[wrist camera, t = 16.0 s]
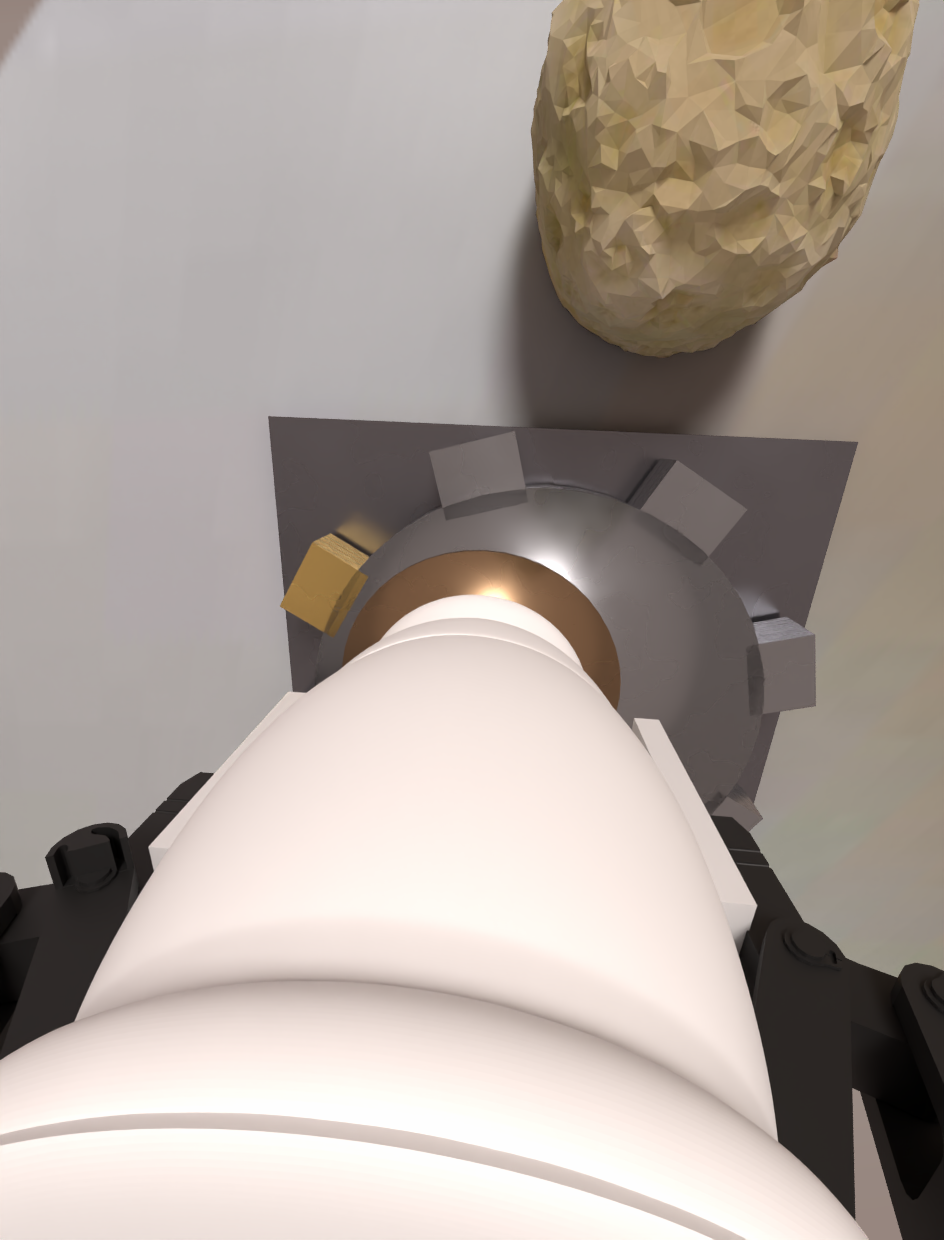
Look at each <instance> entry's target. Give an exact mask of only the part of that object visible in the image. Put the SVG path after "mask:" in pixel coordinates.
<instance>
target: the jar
mask: <svg viewBox="0 0 944 1240" xmlns="http://www.w3.org/2000/svg"><path fill="white" fill-rule="evenodd" d="M0 1240H869V1239H868V1237H867V1236H866V1234H865V1233H864V1232H863V1230H862V1229H861V1228H860V1227H859V1225H858V1224H857V1223H856V1221H855V1220H854V1219H853V1217H852V1216H851V1215H850V1214H849V1213H848V1211H847V1210H846V1209H845V1208H844V1207H843V1205H842V1204H841V1203H840V1202H839V1201H838V1200H837V1198H836V1197H835V1196H834V1195H833V1194H832V1193H831V1192H830V1191H829V1189H828V1188H827V1187H826V1186H825V1185H824V1184H823V1183H822V1182H821V1181H820V1180H819V1179H818V1178H817V1177H816V1176H815V1175H814V1174H813V1173H812V1172H811V1171H810V1170H809V1169H808V1168H807V1167H806V1166H805V1165H804V1164H803V1163H802V1162H801V1161H800V1160H799V1159H798V1158H796V1157H795V1156H794V1155H793V1154H792V1153H791V1152H790V1151H789V1150H787V1149H786V1148H785V1147H784V1146H783V1145H781V1144H780V1143H779V1142H778V1137H777V1128H776V1120H775V1113H774V1106H773V1099H772V1093H771V1087H770V1082H769V1076H768V1071H767V1066H766V1061H765V1056H764V1051H763V1046H762V1042H761V1037H760V1033H759V1029H758V1025H757V1021H756V1017H755V1013H754V1009H753V1005H752V1001H751V997H750V994H749V990H748V986H747V983H746V979H745V976H744V972H743V969H742V965H741V962H740V959H739V955H738V952H737V949H736V946H735V942H734V939H733V936H732V933H731V930H730V927H729V924H728V921H727V918H726V915H725V912H724V909H723V906H722V903H721V901H720V898H719V895H718V892H717V890H716V887H715V884H714V882H713V879H712V876H711V874H710V871H709V869H708V866H707V864H706V861H705V859H704V857H703V854H702V852H701V850H700V847H699V845H698V843H697V840H696V838H695V836H694V834H693V832H692V830H691V827H690V825H689V823H688V821H687V819H686V817H685V815H684V813H683V811H682V809H681V807H680V805H679V803H678V802H677V800H676V798H675V796H674V794H673V792H672V791H671V789H670V787H669V785H668V784H667V782H666V780H665V778H664V777H663V775H662V774H661V772H660V770H659V769H658V767H657V765H656V764H655V762H654V761H653V759H652V758H651V756H650V755H649V753H648V752H647V750H646V749H645V747H644V746H643V745H642V743H641V742H640V740H639V739H638V738H637V736H636V735H635V734H634V732H633V731H632V730H631V729H630V727H629V726H628V725H627V723H626V722H625V721H624V720H623V719H622V717H621V716H620V715H619V714H618V713H617V711H616V710H615V709H614V708H613V707H612V705H611V704H610V702H609V701H608V700H607V698H606V697H605V695H604V694H603V693H602V691H601V690H600V689H599V687H598V686H597V685H596V684H595V683H594V681H593V680H592V679H591V678H590V677H589V676H588V675H587V673H586V672H585V671H584V670H583V668H582V665H581V663H580V661H579V659H578V657H577V655H576V653H575V651H574V649H573V648H572V646H571V645H570V643H569V642H568V641H567V639H566V638H565V637H564V636H563V635H562V633H561V632H560V631H559V630H558V629H557V628H556V627H555V626H554V625H553V624H551V623H550V622H549V621H548V620H546V619H545V618H544V617H542V616H541V615H539V614H538V613H536V612H535V611H533V610H531V609H529V608H527V607H525V606H523V605H521V604H518V603H516V602H513V601H510V600H507V599H503V598H498V597H493V596H487V595H459V596H452V597H447V598H442V599H439V600H436V601H433V602H430V603H427V604H425V605H423V606H421V607H419V608H417V609H415V610H413V611H411V612H410V613H408V614H407V615H405V616H404V617H403V618H401V619H400V620H399V621H398V622H396V623H395V624H394V625H393V626H392V627H391V628H390V629H389V630H388V631H387V632H386V634H385V635H384V636H383V637H382V639H381V640H380V641H379V642H377V643H375V644H374V645H372V646H370V647H369V648H367V649H366V650H364V651H363V652H362V653H360V654H359V655H357V656H356V657H355V658H353V659H352V660H351V661H350V662H348V663H347V664H346V665H345V666H344V667H342V668H341V669H340V670H339V671H337V672H336V673H334V674H333V675H331V676H330V677H328V678H327V679H325V680H324V681H322V682H321V683H319V684H318V685H316V686H315V687H314V688H312V689H311V690H310V691H308V692H307V693H306V694H304V695H303V696H302V697H301V698H299V699H298V700H297V701H296V702H295V703H293V704H292V705H291V706H290V707H289V708H287V709H286V710H285V711H284V712H283V713H282V714H281V715H280V716H278V717H277V718H276V719H275V720H274V721H273V722H272V723H271V724H270V725H269V726H268V727H267V728H266V729H265V730H264V731H263V732H262V733H261V734H260V735H259V736H258V737H257V738H256V739H255V740H254V741H253V742H252V743H251V744H250V745H249V746H248V747H247V748H246V749H245V751H244V752H243V753H242V754H241V755H240V756H239V757H238V758H237V759H236V761H235V762H234V763H233V764H232V765H231V766H230V768H229V769H228V770H227V771H226V772H225V773H224V775H223V776H222V777H221V778H220V780H219V781H218V782H217V783H216V785H215V786H214V787H213V788H212V790H211V791H210V792H209V793H208V795H207V796H206V797H205V799H204V800H203V801H202V803H201V804H200V805H199V807H198V808H197V809H196V811H195V812H194V813H193V815H192V816H191V818H190V819H189V820H188V822H187V823H186V825H185V826H184V827H183V829H182V830H181V832H180V833H179V835H178V836H177V837H176V839H175V840H174V842H173V843H172V845H171V846H170V848H169V849H168V851H167V852H166V854H165V855H164V857H163V858H162V860H161V861H160V863H159V864H158V866H157V867H156V869H155V871H154V872H153V874H152V875H151V877H150V878H149V880H148V882H147V883H146V885H145V886H144V888H143V890H142V891H141V893H140V895H139V896H138V898H137V900H136V901H135V903H134V905H133V906H132V908H131V910H130V911H129V913H128V915H127V916H126V918H125V920H124V922H123V923H122V925H121V927H120V929H119V930H118V932H117V934H116V936H115V938H114V940H113V941H112V943H111V945H110V947H109V949H108V951H107V953H106V955H105V957H104V959H103V960H102V962H101V964H100V966H99V968H98V970H97V972H96V975H95V977H94V979H93V981H92V983H91V985H90V987H89V989H88V991H87V994H86V996H85V998H84V1000H83V1003H82V1005H81V1007H80V1009H79V1012H78V1014H77V1017H76V1019H75V1021H74V1022H73V1023H70V1024H67V1025H65V1026H63V1027H60V1028H58V1029H56V1030H54V1031H51V1032H49V1033H47V1034H45V1035H43V1036H41V1037H39V1038H37V1039H35V1040H33V1041H32V1042H30V1043H28V1044H26V1045H24V1046H23V1047H21V1048H19V1049H18V1050H16V1051H14V1052H13V1053H11V1054H9V1055H8V1056H6V1057H5V1058H3V1059H1V1060H0Z"/></svg>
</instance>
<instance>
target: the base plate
mask: <svg viewBox="0 0 944 1240" xmlns="http://www.w3.org/2000/svg"><path fill="white" fill-rule="evenodd" d="M268 418H269V429H270V440H271V451H272V463H273V474H274V485H275V496H276V507H277V518H278V530H279V541H280V552H281V563H282V574H283V586H284V597H285V595H286V593H287V591H288V589H289V587H290V585H291V583H292V581H293V579H294V577H295V575H296V573H297V572H298V570H299V568H300V566H301V564H302V562H303V560H304V558H305V556H306V554H307V552H308V550H309V548H310V546H311V544H312V542H314V541H316V540H318V539H320V538H322V537H324V536H326V535H328V534H330V533H331V534H333V535H335V536H336V537H338V538H340V539H341V540H343V541H344V542H346V543H348V544H349V545H351V546H352V547H354V548H356V549H357V550H359V551H361V552H362V553H364V554H365V555H367V556H369V557H370V556H371V555H372V554H373V553H374V552H375V551H376V550H378V549H379V548H380V547H381V546H382V545H383V544H385V543H386V542H387V541H388V540H389V539H390V538H392V537H393V536H394V535H395V534H396V533H398V532H399V531H400V530H402V529H403V528H404V527H406V526H407V525H409V524H410V523H412V522H413V521H415V520H417V519H418V518H420V517H421V516H423V515H424V514H426V513H428V512H429V511H431V510H433V509H435V508H437V507H440V506H442V503H441V499H440V495H439V491H438V487H437V483H436V479H435V475H434V471H433V466H432V462H431V458H430V454H429V452H431V451H435V450H439V449H443V448H447V447H452V446H456V445H460V444H464V443H468V442H472V441H476V440H480V439H484V438H488V437H492V436H496V435H501V434H505V433H509V432H513V431H515V434H516V440H517V445H518V450H519V455H520V461H521V466H522V471H523V477H524V482H525V485H540V484H548V485H557V486H566V487H575V488H581V489H584V490H588V491H592V492H596V493H600V494H604V495H608V496H610V497H613V498H615V499H618V500H620V501H623V502H625V503H628V502H629V501H630V499H631V498H632V497H633V495H634V494H635V493H636V491H637V490H638V488H639V487H640V486H641V484H642V483H643V482H644V480H645V479H646V478H647V476H648V475H649V473H650V472H651V471H652V469H653V468H654V467H655V465H656V464H657V463H658V461H659V460H660V458H661V459H671V460H678V461H679V462H681V463H682V464H684V465H685V466H686V467H688V468H689V469H691V470H692V471H694V472H695V473H696V474H698V475H699V476H701V477H702V478H703V479H705V480H706V481H708V482H709V483H711V484H712V485H713V486H715V487H716V488H718V489H719V490H721V491H722V492H723V493H725V494H726V495H728V496H729V497H731V498H732V499H733V500H735V501H736V502H738V503H739V504H740V505H742V506H743V507H745V508H746V509H748V510H747V511H746V512H745V513H744V514H743V516H742V517H741V518H740V519H739V520H738V522H737V523H736V524H735V525H734V526H733V528H732V529H731V530H730V531H729V533H728V534H727V535H726V536H725V537H724V539H723V540H722V541H721V542H720V543H719V545H718V546H717V547H716V548H715V549H714V551H713V552H712V553H711V554H710V555H709V558H710V559H711V560H712V561H713V562H714V563H715V564H716V565H717V566H718V567H719V568H720V569H721V571H722V572H723V573H724V574H725V576H726V577H727V578H728V580H729V581H730V583H731V584H732V586H733V587H734V589H735V590H736V592H737V593H738V595H739V596H740V598H741V600H742V602H743V604H744V606H745V608H746V610H747V612H748V614H749V617H750V619H751V621H752V623H754V622H760V621H766V620H771V619H777V618H783V617H788V618H789V619H791V620H793V621H794V622H796V623H797V624H799V625H800V626H802V627H804V628H805V624H806V621H807V617H808V614H809V610H810V607H811V603H812V600H813V596H814V593H815V590H816V586H817V583H818V579H819V576H820V572H821V569H822V565H823V562H824V558H825V555H826V551H827V548H828V545H829V541H830V538H831V534H832V531H833V527H834V524H835V520H836V517H837V513H838V510H839V507H840V503H841V500H842V496H843V493H844V489H845V486H846V482H847V479H848V475H849V472H850V469H851V465H852V462H853V458H854V455H855V451H856V448H857V444H858V442H845V441H822V440H799V439H776V438H753V437H730V436H707V435H684V434H661V433H638V432H615V431H592V430H569V429H546V428H523V427H500V426H477V425H454V424H431V423H409V422H386V421H363V420H340V419H317V418H294V417H271V416H268ZM286 619H287V630H288V641H289V653H290V664H291V675H292V686H293V692H301V693H307V692H308V691H310V690H311V689H312V688H314V687H315V669H316V662H317V655H318V649H319V645H320V642H321V639H322V635H323V631H321V630H319V629H317V628H316V627H314V626H312V625H311V624H309V623H307V622H306V621H304V620H302V619H301V618H299V617H297V616H295V615H294V614H292V613H290V612H289V611H287V610H286ZM779 714H780V712H773V713H766V714H762V718H761V723H760V729H759V733H758V736H757V739H756V742H755V745H754V748H753V751H752V753H751V756H750V759H749V761H748V763H747V765H746V766H745V768H744V770H743V772H742V774H741V776H740V778H739V780H738V782H737V783H736V784H737V785H739V786H741V787H742V788H743V789H744V791H745V792H746V794H747V795H748V797H749V798H750V800H751V801H752V803H753V804H754V800H755V797H756V793H757V790H758V787H759V783H760V780H761V776H762V773H763V769H764V766H765V762H766V759H767V755H768V752H769V749H770V745H771V742H772V738H773V735H774V731H775V728H776V724H777V721H778V717H779Z"/></svg>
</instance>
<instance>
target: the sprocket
mask: <svg viewBox="0 0 944 1240" xmlns="http://www.w3.org/2000/svg"><path fill="white" fill-rule="evenodd" d="M429 454H430V458H431V462H432V466H433V471H434V475H435V479H436V483H437V487H438V491H439V495H440V499H441V503H442V506H440V507H437V508H435V509H433V510H431V511H429V512H428V513H426V514H424V515H423V516H421V517H420V518H418V519H417V520H415V521H413V522H412V523H410V524H409V525H407V526H406V527H404V528H403V529H402V530H400V531H399V532H398V533H396V534H395V535H394V536H393V537H392V538H390V539H389V540H388V541H387V542H386V543H385V544H383V545H382V546H381V547H380V548H379V549H378V550H376V551H375V552H374V553H373V554H372V555H371V556H370V557H369V556H367V555H365V554H364V553H362V552H361V551H359V550H357V549H356V548H354V547H352V546H351V545H349V544H348V543H346V542H344V541H343V540H341V539H340V538H338V537H336V536H335V535H333V534H331V533H330V534H328V535H326V536H324V537H322V538H320V539H318V540H316V541H314V542H312V544H311V546H310V548H309V550H308V552H307V554H306V556H305V558H304V560H303V562H302V564H301V566H300V568H299V570H298V572H297V573H296V575H295V577H294V579H293V581H292V583H291V585H290V587H289V589H288V591H287V593H286V595H285V597H284V599H283V601H282V603H281V605H280V607H282V608H284V609H285V610H287V611H289V612H290V613H292V614H294V615H295V616H297V617H299V618H301V619H302V620H304V621H306V622H307V623H309V624H311V625H312V626H314V627H316V628H317V629H319V630H321V631H323V635H322V639H321V642H320V645H319V649H318V655H317V662H316V669H315V686H316V685H318V684H319V683H321V682H322V681H324V680H325V679H327V678H328V677H330V676H331V675H333V674H334V673H336V672H337V671H339V670H340V669H341V668H342V667H344V666H345V665H346V664H347V663H348V662H350V661H351V660H352V659H353V658H355V657H356V656H357V655H359V654H360V653H362V652H363V651H364V650H366V649H367V648H369V647H370V646H372V645H374V644H375V643H377V642H379V641H380V640H381V639H382V637H383V636H384V635H385V634H386V632H387V631H388V630H389V629H390V628H391V627H392V626H393V625H394V624H395V623H396V622H398V621H399V620H400V619H401V618H403V617H404V616H405V615H407V614H408V613H410V612H411V611H413V610H415V609H417V608H419V607H421V606H423V605H425V604H427V603H430V602H433V601H436V600H439V599H442V598H447V597H452V596H459V595H487V596H493V597H498V598H503V599H507V600H510V601H513V602H516V603H518V604H521V605H523V606H525V607H527V608H529V609H531V610H533V611H535V612H536V613H538V614H539V615H541V616H542V617H544V618H545V619H546V620H548V621H549V622H550V623H551V624H553V625H554V626H555V627H556V628H557V629H558V630H559V631H560V632H561V633H562V635H563V636H564V637H565V638H566V639H567V641H568V642H569V643H570V645H571V646H572V648H573V649H574V651H575V653H576V655H577V657H578V659H579V661H580V663H581V665H582V668H583V670H584V671H585V672H586V673H587V675H588V676H589V677H590V678H591V679H592V680H593V681H594V683H595V684H596V685H597V686H598V687H599V689H600V690H601V691H602V693H603V694H604V695H605V697H606V698H607V700H608V701H609V702H610V704H611V705H612V707H613V708H614V709H615V710H616V711H617V713H618V714H619V715H620V716H621V717H622V719H623V720H624V721H625V722H626V723H627V725H628V726H629V727H630V729H631V730H632V726H633V721H634V718H642V719H655V720H659V721H660V723H661V725H662V727H663V729H664V731H665V732H666V734H667V736H668V738H669V740H670V742H671V744H672V746H673V748H674V749H675V751H676V753H677V755H678V757H679V759H680V761H681V763H682V765H683V766H684V768H685V770H686V772H687V774H688V776H689V778H690V780H691V781H692V783H693V785H694V787H695V789H696V791H697V793H698V795H699V797H700V798H701V800H702V802H703V804H704V806H705V808H706V810H707V812H708V814H709V815H714V816H726V817H733V818H734V819H735V820H736V821H737V822H738V823H739V824H740V825H742V826H743V827H744V828H745V829H746V830H747V831H748V832H749V831H750V830H751V829H752V828H753V827H754V826H755V825H757V824H758V823H759V822H760V821H761V820H762V819H763V818H762V816H761V815H760V813H759V812H758V810H757V809H756V807H755V806H754V804H753V803H752V801H751V800H750V798H749V797H748V795H747V794H746V792H745V791H744V789H743V788H742V787H741V786H739V785H737V784H736V783H737V782H738V780H739V778H740V776H741V774H742V772H743V770H744V768H745V766H746V765H747V763H748V761H749V759H750V756H751V753H752V751H753V748H754V745H755V742H756V739H757V736H758V733H759V729H760V723H761V718H762V714H766V713H773V712H780V711H786V710H793V709H800V708H807V707H813V706H816V677H815V634H813V633H812V632H810V631H808V630H807V629H805V628H804V627H802V626H800V625H799V624H797V623H796V622H794V621H793V620H791V619H789V618H788V617H783V618H777V619H771V620H766V621H760V622H754V623H752V621H751V619H750V617H749V614H748V612H747V610H746V608H745V606H744V604H743V602H742V600H741V598H740V596H739V595H738V593H737V592H736V590H735V589H734V587H733V586H732V584H731V583H730V581H729V580H728V578H727V577H726V576H725V574H724V573H723V572H722V571H721V569H720V568H719V567H718V566H717V565H716V564H715V563H714V562H713V561H712V560H711V559H710V558H709V555H710V554H711V553H712V552H713V551H714V549H715V548H716V547H717V546H718V545H719V543H720V542H721V541H722V540H723V539H724V537H725V536H726V535H727V534H728V533H729V531H730V530H731V529H732V528H733V526H734V525H735V524H736V523H737V522H738V520H739V519H740V518H741V517H742V516H743V514H744V513H745V512H746V511H747V510H748V509H746V508H745V507H743V506H742V505H740V504H739V503H738V502H736V501H735V500H733V499H732V498H731V497H729V496H728V495H726V494H725V493H723V492H722V491H721V490H719V489H718V488H716V487H715V486H713V485H712V484H711V483H709V482H708V481H706V480H705V479H703V478H702V477H701V476H699V475H698V474H696V473H695V472H694V471H692V470H691V469H689V468H688V467H686V466H685V465H684V464H682V463H681V462H679V461H678V460H671V459H661V458H660V460H659V461H658V463H657V464H656V465H655V467H654V468H653V469H652V471H651V472H650V473H649V475H648V476H647V478H646V479H645V480H644V482H643V483H642V484H641V486H640V487H639V488H638V490H637V491H636V493H635V494H634V495H633V497H632V498H631V499H630V501H629V502H628V503H625V502H623V501H620V500H618V499H615V498H613V497H610V496H608V495H604V494H600V493H596V492H592V491H588V490H584V489H581V488H575V487H566V486H557V485H548V484H540V485H525V482H524V477H523V471H522V466H521V461H520V455H519V450H518V445H517V440H516V434H515V431H513V432H509V433H505V434H501V435H496V436H492V437H488V438H484V439H480V440H476V441H472V442H468V443H464V444H460V445H456V446H452V447H447V448H443V449H439V450H435V451H431V452H429Z"/></svg>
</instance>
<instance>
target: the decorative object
mask: <svg viewBox="0 0 944 1240" xmlns="http://www.w3.org/2000/svg"><path fill="white" fill-rule="evenodd" d="M918 7H919V0H563V1H562V2H561V3H560V4H559V5H558V6H557V8H556V9H555V10H554V11H553V12H552V20H551V29H550V33H549V38H548V51H547V56H546V59H545V61H544V64H543V66H542V70H541V76H540V81H539V87H538V89H537V98H536V101H535V106H534V118H533V122H532V127H531V137H532V148H533V167H534V180H535V185H536V196H535V200H536V205H537V211H536V216H537V220H538V228H539V232H540V235H541V239H542V251H543V254H544V257H545V261H546V264H547V267H548V271H549V275H550V278H551V280H552V283H553V286H554V288H555V291H556V293H557V296H558V298H559V300H560V302H561V303H562V305H563V307H565V308H567V309H568V311H569V312H570V313H571V314H572V316H573V317H574V318H575V319H576V321H577V322H578V323H579V324H580V325H582V326H583V327H585V328H586V329H588V330H589V331H590V332H592V333H594V334H596V335H598V336H600V337H601V338H602V339H603V340H605V341H606V342H608V343H609V344H610V343H611V344H614V345H617V346H620V347H621V348H622V349H623V350H624V351H625V352H626V351H629V352H633V353H638V354H640V355H643V356H655V357H658V358H665V357H669V356H671V355H673V354H676V353H679V352H688V353H693V352H694V351H702V350H706V349H709V348H713V347H716V346H717V345H718V344H719V343H720V342H721V341H722V340H724V339H726V338H728V337H731V336H733V334H734V333H735V332H736V331H738V330H741V329H742V328H744V327H746V326H748V325H752V324H756V322H757V321H758V320H760V319H761V318H763V317H764V316H766V315H767V314H768V313H770V312H771V311H773V310H774V309H776V308H777V307H778V306H780V305H781V304H783V303H784V302H785V301H787V300H788V299H790V298H791V297H792V296H794V295H795V294H797V293H798V292H800V291H801V290H802V288H803V287H804V285H805V284H806V282H807V281H808V280H809V279H810V278H811V277H812V276H813V275H814V274H815V273H816V272H817V271H818V270H819V269H820V268H821V267H822V266H824V265H826V264H828V263H829V262H831V261H833V260H835V259H836V258H837V255H838V246H839V244H840V242H841V241H842V240H843V239H844V237H845V236H846V235H847V234H848V232H849V231H850V230H851V228H852V227H853V225H854V224H855V223H856V221H857V220H858V218H859V217H860V215H861V214H862V211H863V208H864V205H865V202H866V199H867V196H868V193H869V190H870V187H871V184H872V182H873V179H874V176H875V173H876V171H877V168H878V166H879V163H880V161H881V159H882V158H883V155H884V153H885V151H886V149H887V147H888V145H889V142H890V140H891V138H892V135H893V132H894V128H895V125H896V121H897V117H898V110H899V93H900V89H901V84H902V79H903V74H904V70H905V66H906V62H907V59H908V57H909V54H910V50H911V43H912V35H913V28H914V23H915V19H916V15H917V11H918Z"/></svg>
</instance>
